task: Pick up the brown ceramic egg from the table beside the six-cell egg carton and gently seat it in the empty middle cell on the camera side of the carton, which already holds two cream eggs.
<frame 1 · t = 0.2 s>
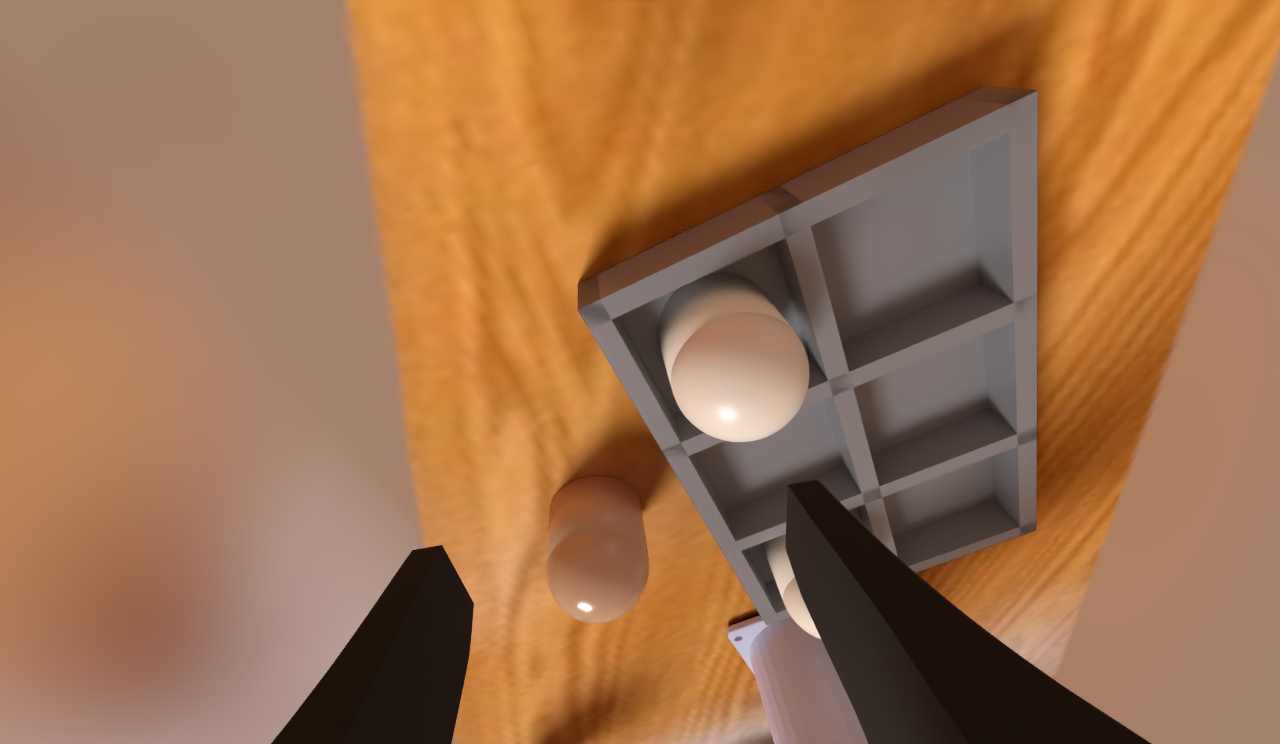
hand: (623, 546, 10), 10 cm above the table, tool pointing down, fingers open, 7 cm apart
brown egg: (595, 509, 24), on the table
egg carton: (834, 412, 22), on the table
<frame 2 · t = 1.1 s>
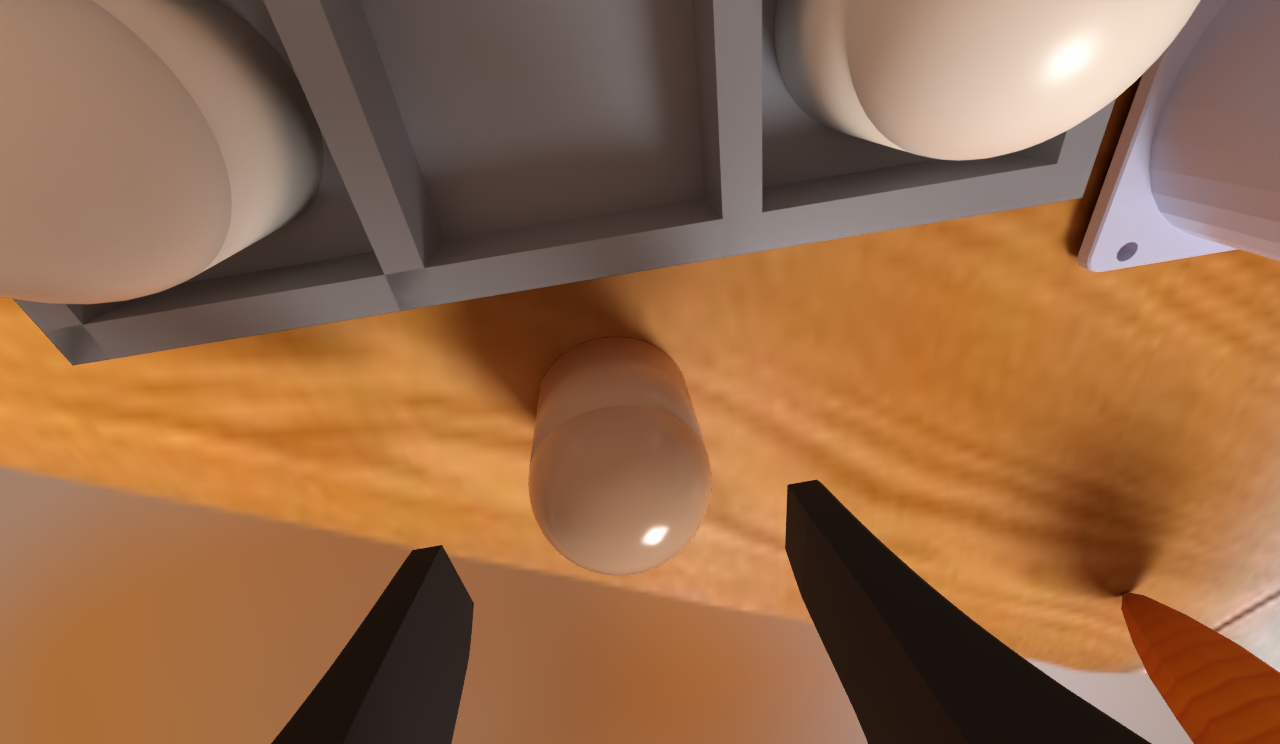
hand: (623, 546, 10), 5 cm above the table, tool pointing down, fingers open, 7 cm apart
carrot: (1121, 590, 24), on the table
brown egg: (613, 401, 15), on the table
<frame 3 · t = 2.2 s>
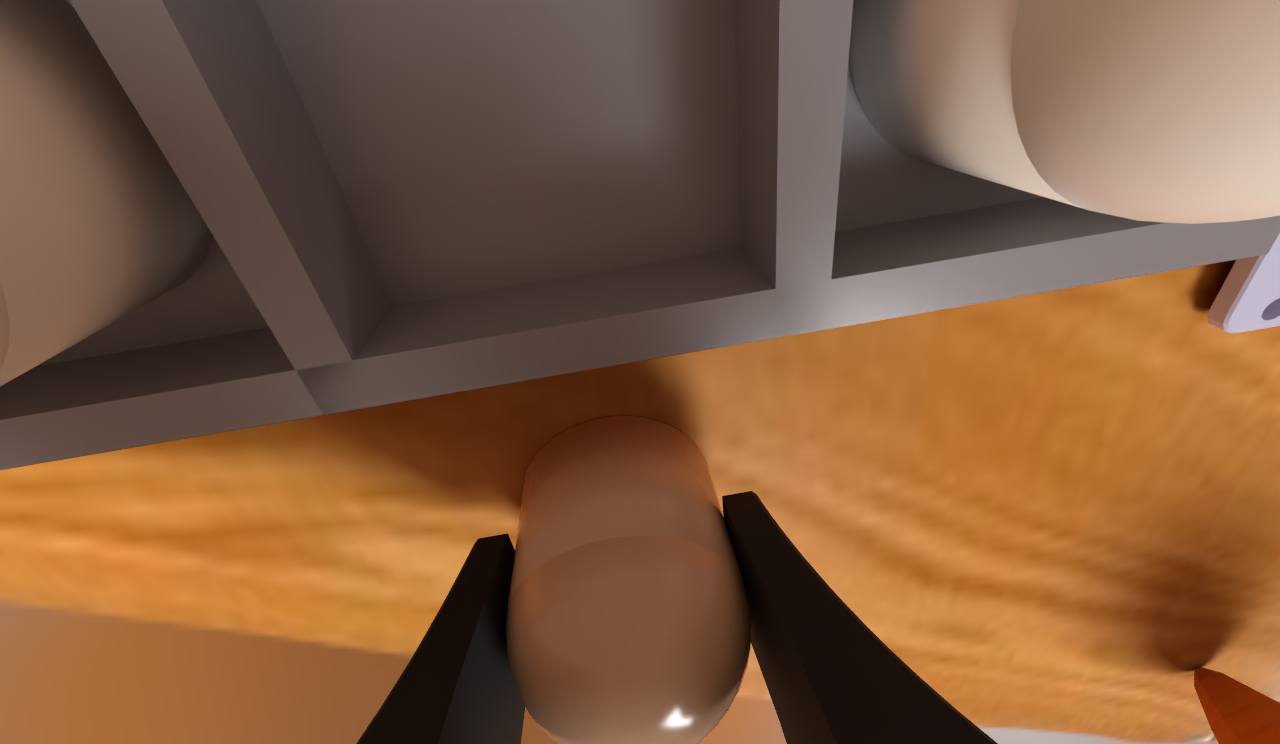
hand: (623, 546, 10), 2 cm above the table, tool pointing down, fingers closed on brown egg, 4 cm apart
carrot: (1193, 664, 21), on the table
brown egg: (618, 489, 12), on the table, touching gripper
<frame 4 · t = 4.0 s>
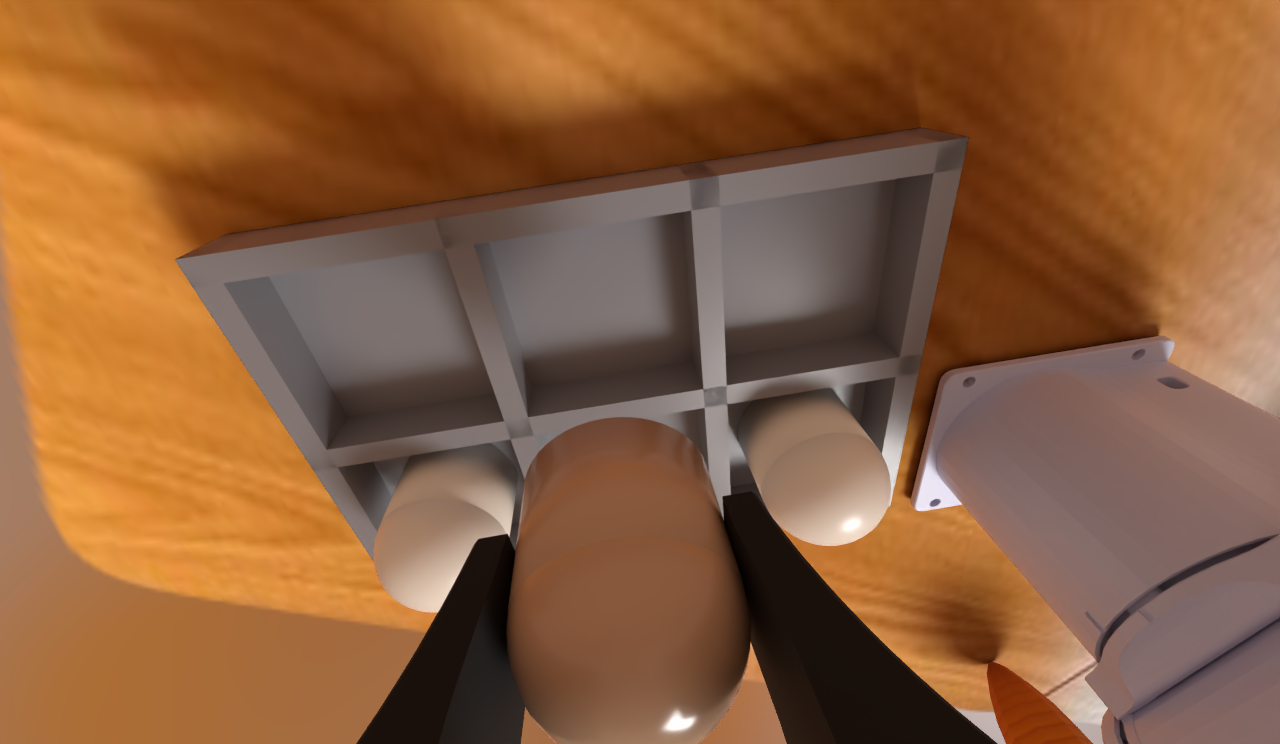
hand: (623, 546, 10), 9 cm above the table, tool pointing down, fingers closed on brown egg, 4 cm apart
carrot: (988, 659, 34), on the table
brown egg: (617, 490, 12), point 7 cm above the table, touching gripper
egg carton: (614, 377, 19), on the table
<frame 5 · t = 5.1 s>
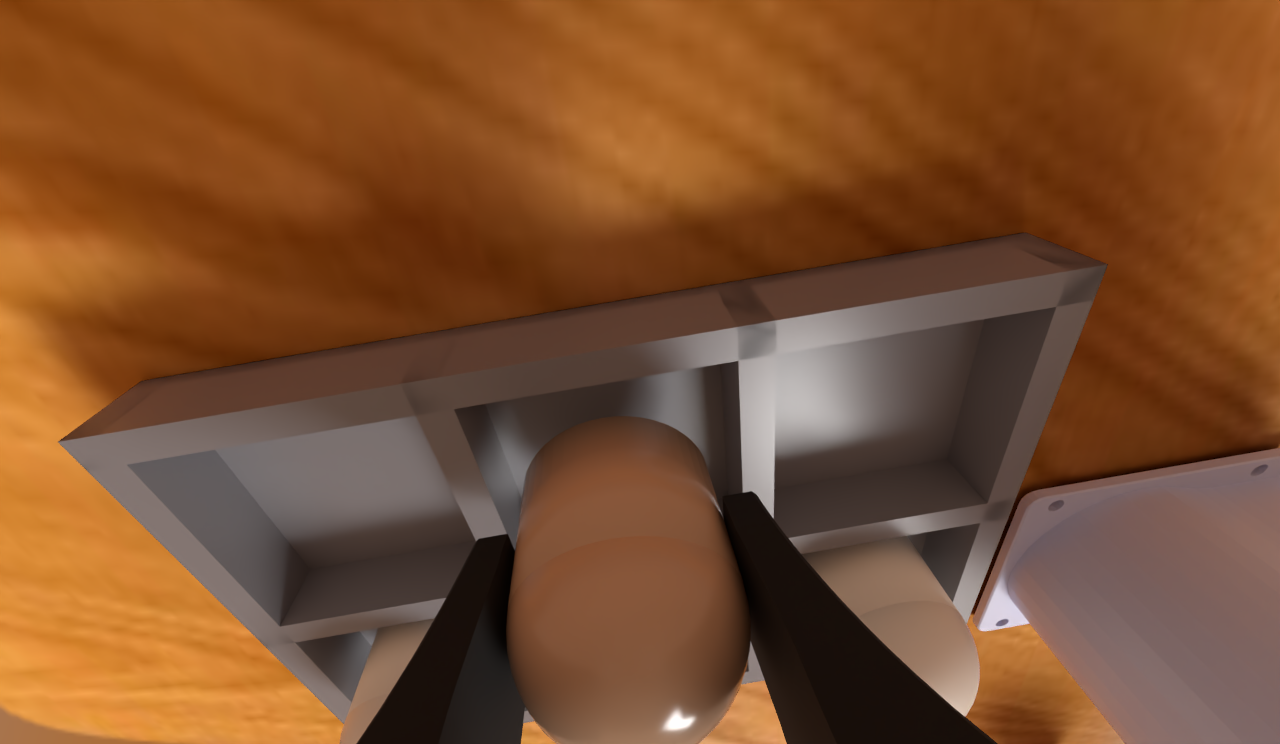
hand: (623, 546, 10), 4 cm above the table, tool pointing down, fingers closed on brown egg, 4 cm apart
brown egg: (617, 489, 12), point 2 cm above the table, touching gripper
egg carton: (631, 512, 16), on the table
when the fingers open (3 cm above the table, at t = 5.8 s): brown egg stays where it is, resting on egg carton.
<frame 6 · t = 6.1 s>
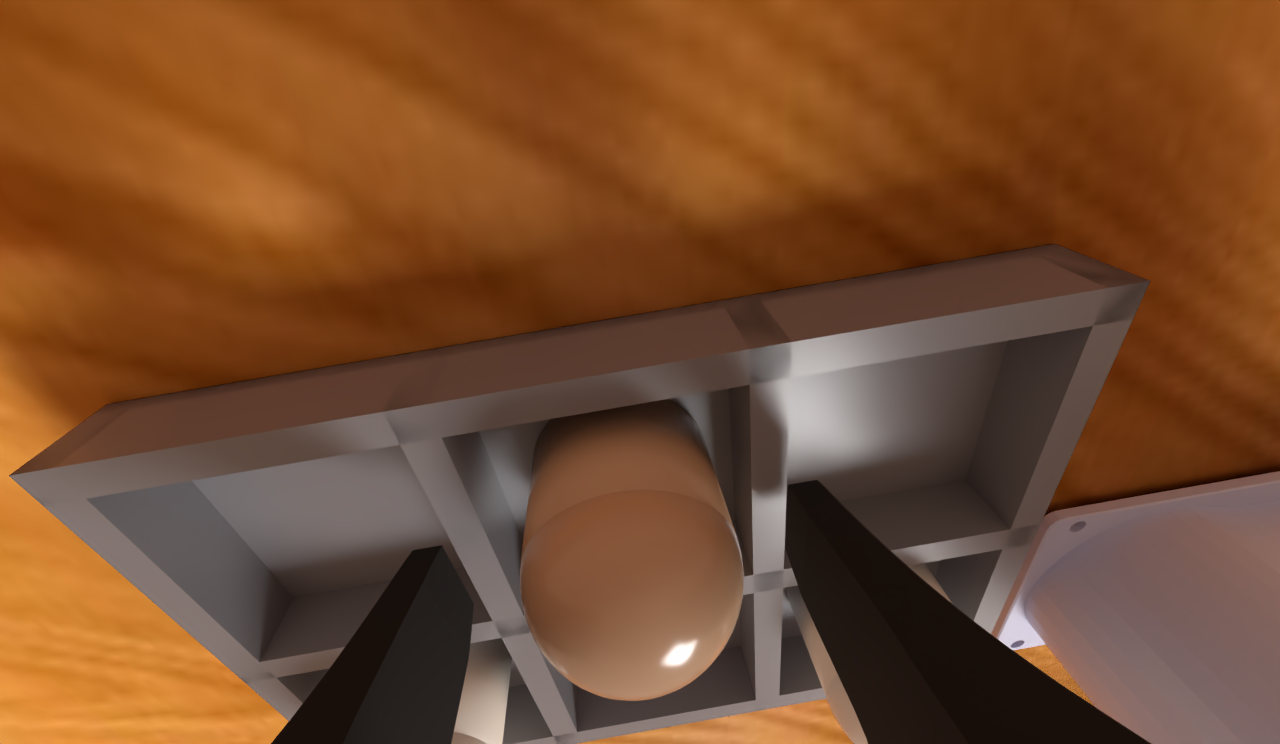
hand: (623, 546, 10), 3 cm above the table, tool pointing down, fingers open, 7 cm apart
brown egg: (620, 461, 13), resting on egg carton
egg carton: (633, 536, 15), on the table
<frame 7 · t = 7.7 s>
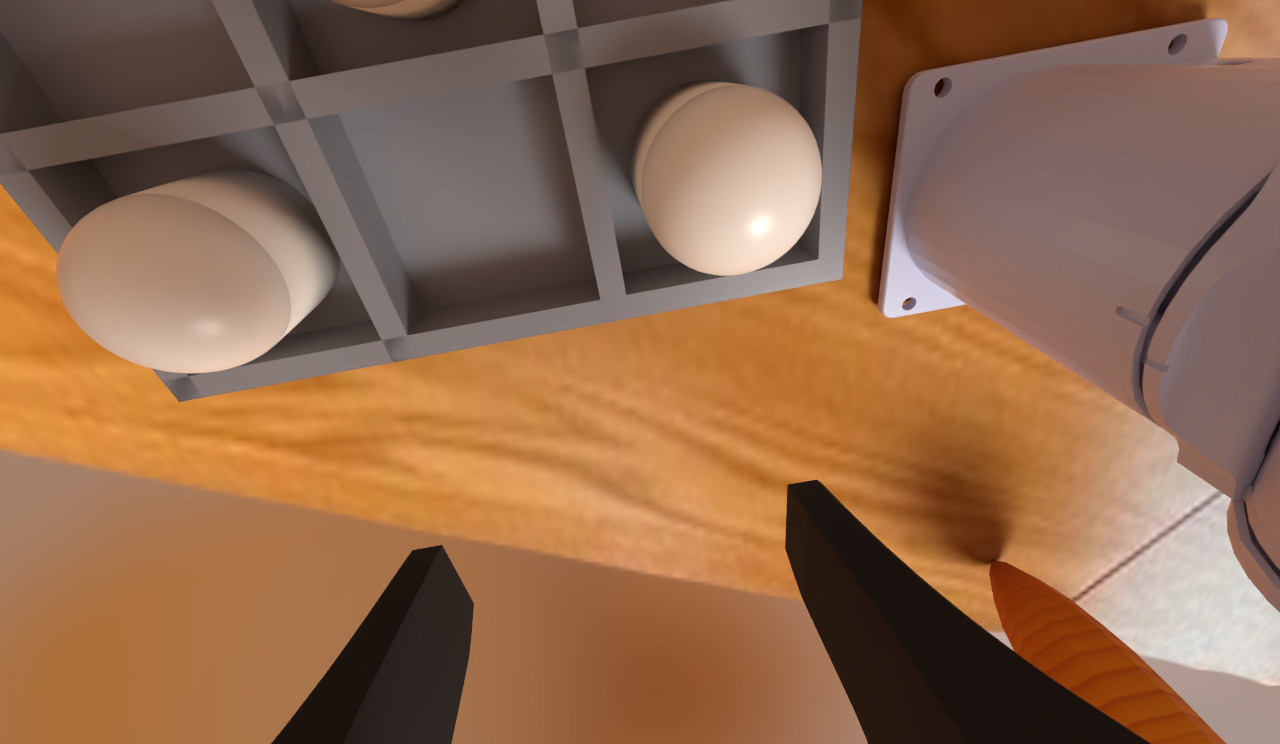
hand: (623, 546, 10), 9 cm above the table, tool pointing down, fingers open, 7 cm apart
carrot: (991, 559, 29), on the table
egg carton: (444, 75, 14), on the table
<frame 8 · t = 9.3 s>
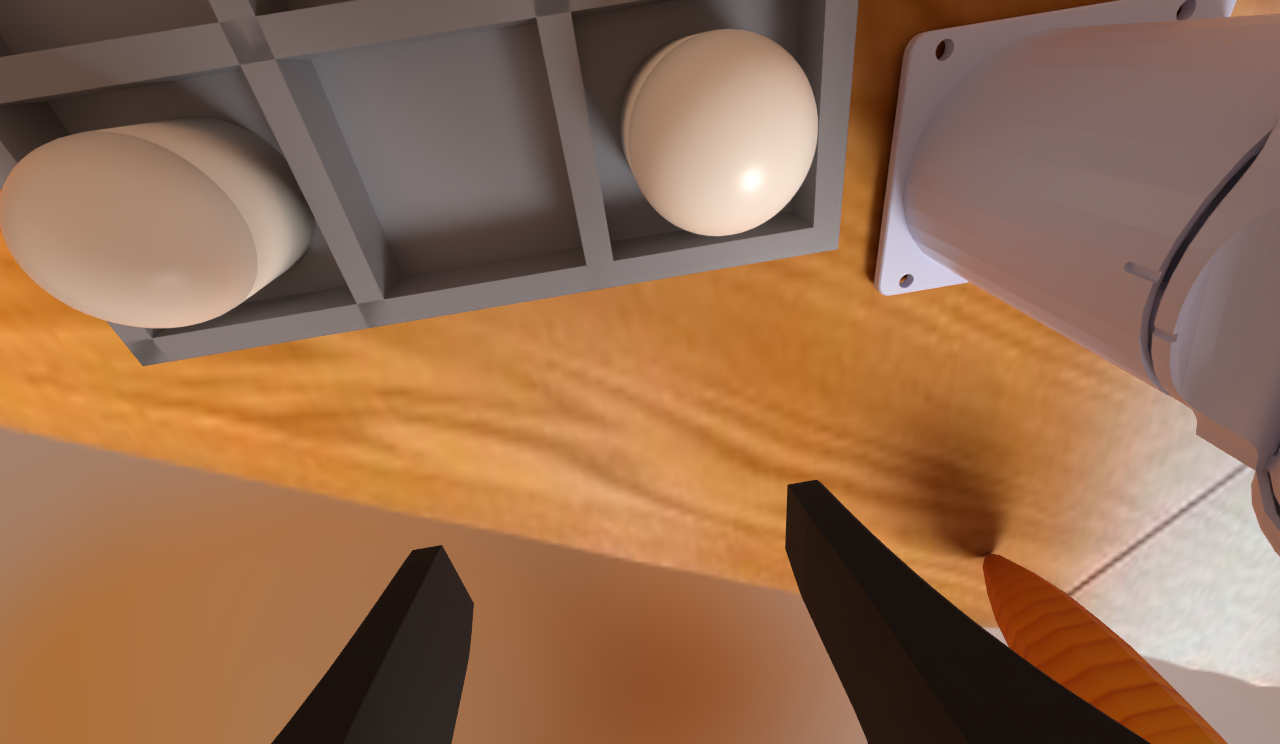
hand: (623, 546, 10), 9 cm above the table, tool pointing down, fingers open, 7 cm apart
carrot: (985, 552, 29), on the table
egg carton: (424, 22, 13), on the table
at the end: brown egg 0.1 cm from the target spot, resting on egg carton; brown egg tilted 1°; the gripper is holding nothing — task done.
